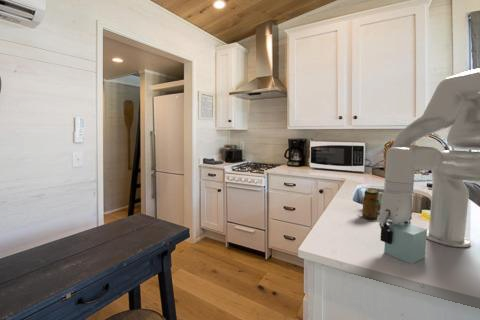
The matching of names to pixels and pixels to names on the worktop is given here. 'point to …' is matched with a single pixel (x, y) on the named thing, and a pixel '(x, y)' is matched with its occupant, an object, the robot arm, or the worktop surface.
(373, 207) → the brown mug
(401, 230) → the mint green cube
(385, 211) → the robot arm
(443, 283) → the worktop surface
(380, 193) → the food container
